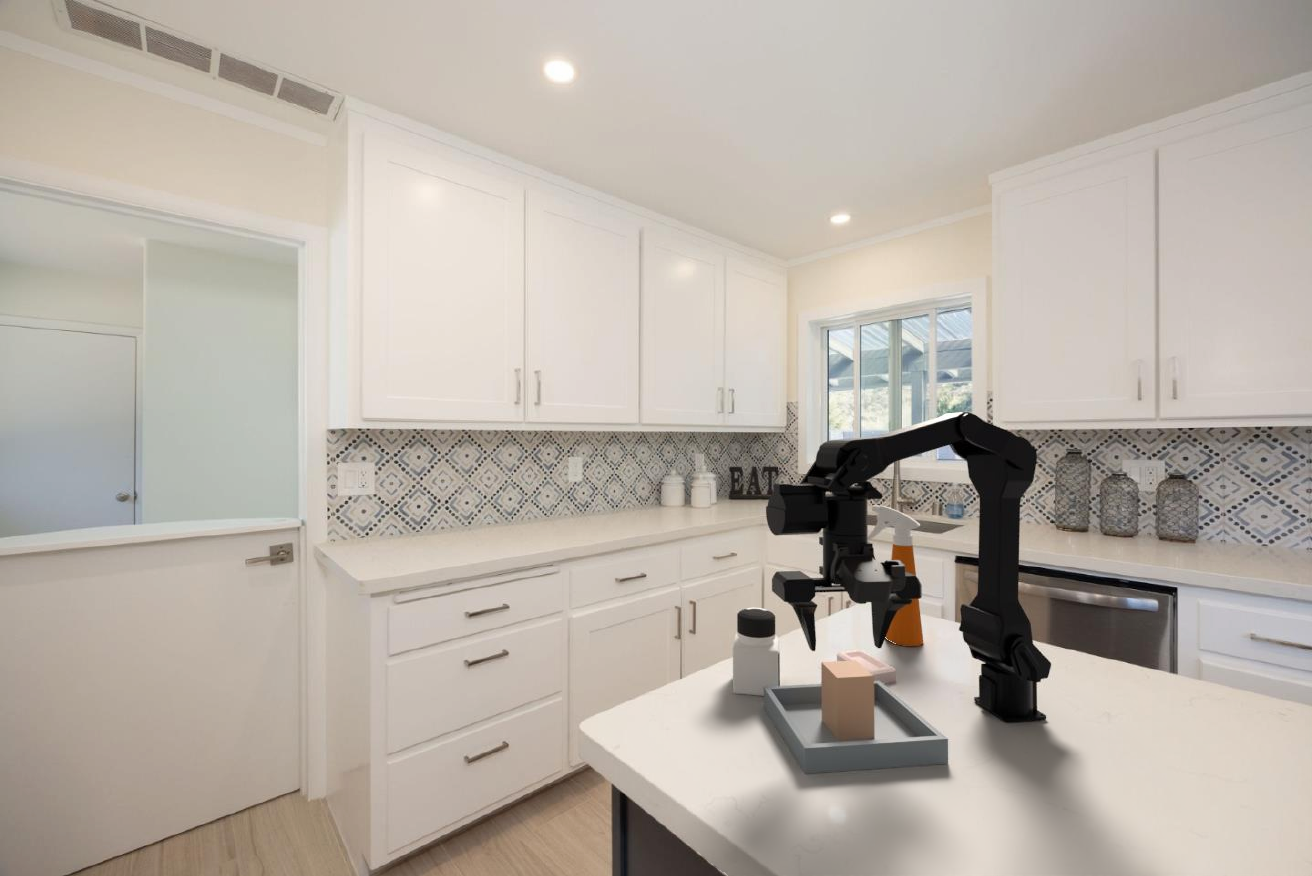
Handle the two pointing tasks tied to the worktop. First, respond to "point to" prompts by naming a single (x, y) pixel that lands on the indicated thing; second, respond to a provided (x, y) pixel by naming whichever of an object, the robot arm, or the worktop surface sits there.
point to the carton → (847, 699)
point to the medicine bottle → (755, 652)
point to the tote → (819, 751)
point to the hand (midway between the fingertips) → (845, 648)
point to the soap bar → (870, 665)
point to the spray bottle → (908, 617)
